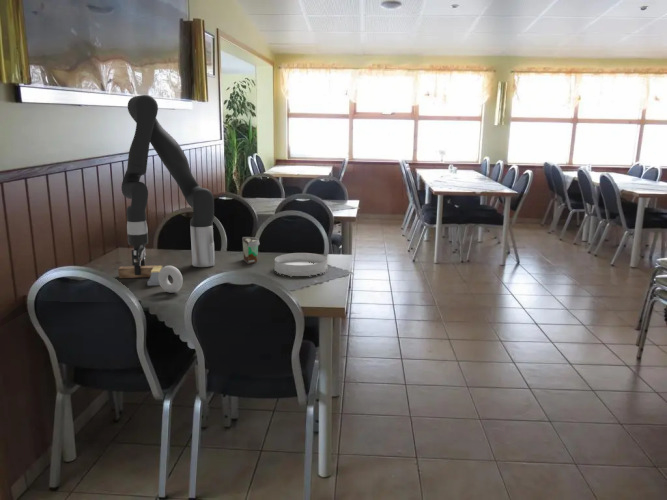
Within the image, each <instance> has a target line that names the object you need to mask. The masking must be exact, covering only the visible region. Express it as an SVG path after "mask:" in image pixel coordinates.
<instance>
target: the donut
mask: <svg viewBox="0 0 667 500" xmlns="http://www.w3.org/2000/svg"><path fill="white" fill-rule="evenodd" d="M169 276H170V277H171V278H172V283H171V281H170V280H169ZM183 278H184V277H183V275H182V273H181V271H180V270H179V269H178V268H177V267H176V266H173V265H165V266H164V267H163V268H162V269H161V270H160V272H159V275H158V280H159V284H160V285H159V286H160V288H162V290H163V291H164V292H167V293H170V294H173V293H177V292H179V291H180V290H181V288H182V286H183V282H184V279H183Z"/></svg>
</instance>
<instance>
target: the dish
mask: <svg viewBox="0 0 667 500" xmlns="http://www.w3.org/2000/svg"><path fill="white" fill-rule="evenodd" d="M308 261H312V262H313V261H314V262H315V263H314V264H313V263H311V262H310V263H309V262H308ZM326 269H327V270H328V258H327V256H325V255H323V254H318V253H312V252H311V253H310V252H293V253H292V252H291V253H285V254H281V255H280V254H279V255H278V256H276V257H275V258H274V272H275V271H277V272H279V273H283V274H292V275H310V274H316V273H320V272H323V271H325V270H326Z"/></svg>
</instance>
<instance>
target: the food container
mask: <svg viewBox="0 0 667 500" xmlns="http://www.w3.org/2000/svg"><path fill="white" fill-rule="evenodd" d="M241 243H242V254H243V260H244V262H246V263H247V265H252V263H254V264H256V263H258V255H259V253H258V252H259V251H258V249H259V246H260V240H259V238H257V237H254V236H253V237H251V236H242V241H241ZM255 262H256V263H255Z"/></svg>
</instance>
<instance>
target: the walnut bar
mask: <svg viewBox="0 0 667 500" xmlns="http://www.w3.org/2000/svg"><path fill="white" fill-rule="evenodd" d="M154 266H163V265H162V264H161V265H160V264H159V265H157V264H156V265H145V266H141V275H135V269H134V266H133V265H128V266H119V268H118V278H119V279H123V278H125V279H127V278H129V279H130V278H150V277H151V270H152V269H153V267H154Z"/></svg>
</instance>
